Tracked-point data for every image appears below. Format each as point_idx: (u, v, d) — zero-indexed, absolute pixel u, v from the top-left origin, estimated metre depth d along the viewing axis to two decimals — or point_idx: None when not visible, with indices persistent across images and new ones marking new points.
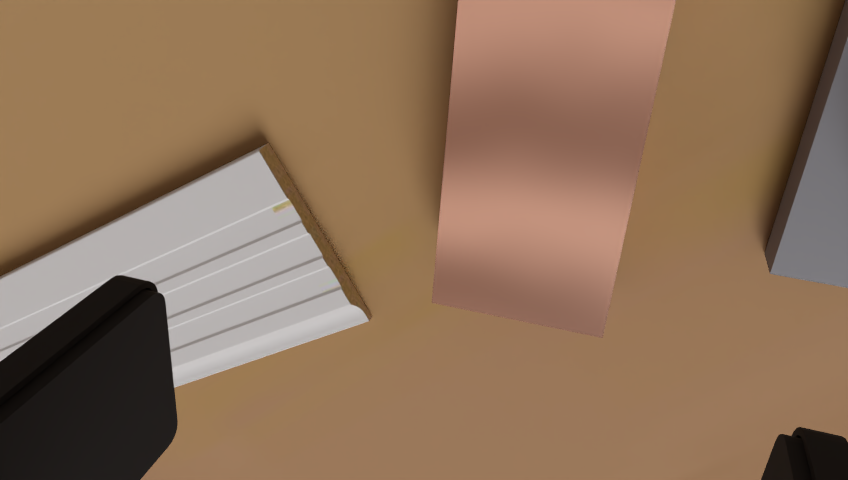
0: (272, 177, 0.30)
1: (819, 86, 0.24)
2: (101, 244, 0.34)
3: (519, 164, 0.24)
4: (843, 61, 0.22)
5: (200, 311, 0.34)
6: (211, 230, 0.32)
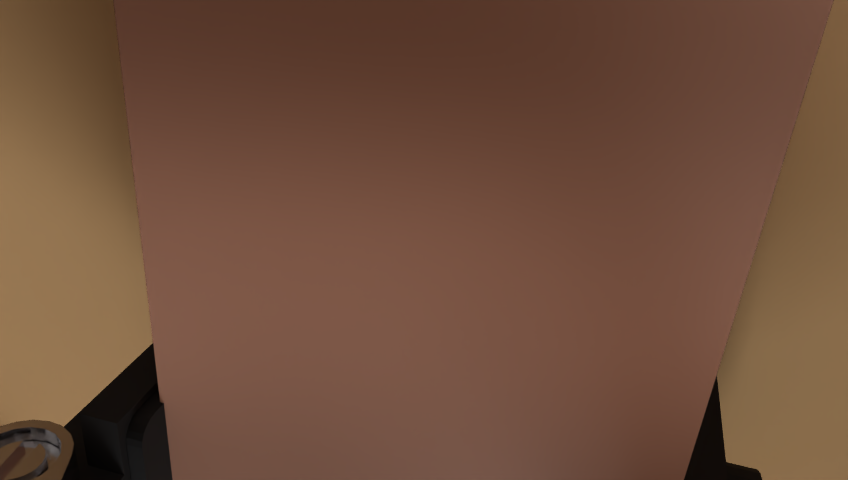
0: None
1: None
2: None
3: None
4: None
5: None
6: None
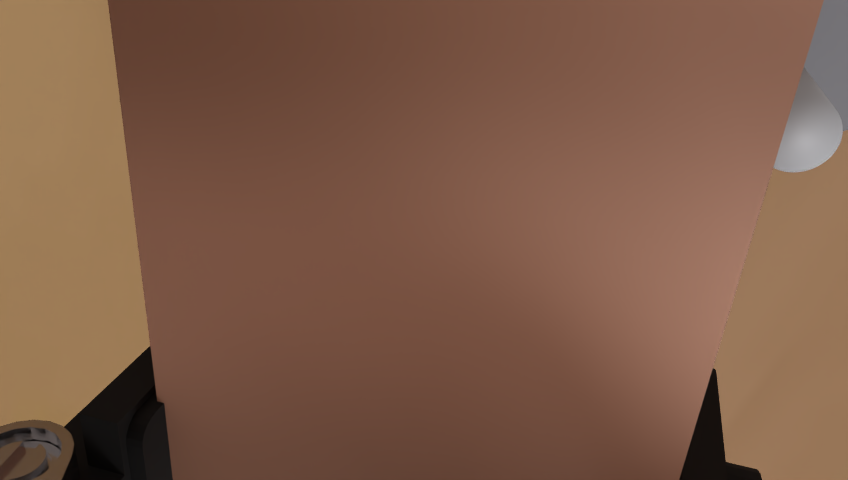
0: None
1: None
2: None
3: None
4: None
5: None
6: None
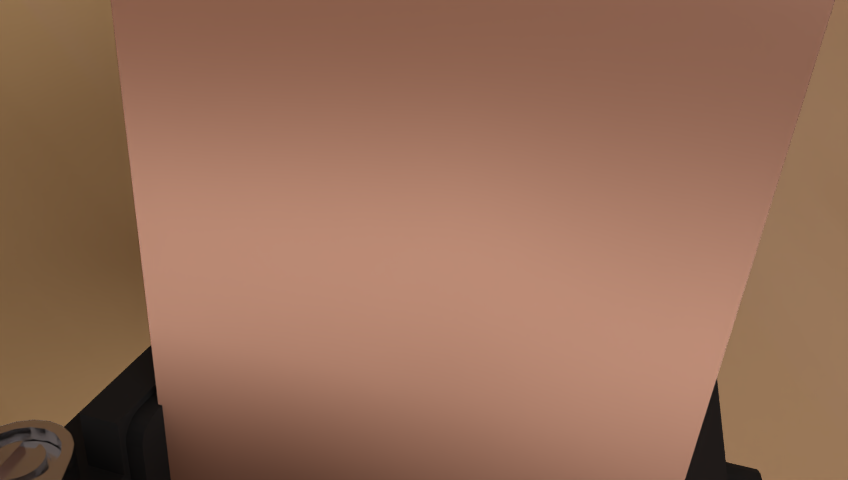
0: None
1: None
2: None
3: None
4: None
5: None
6: None
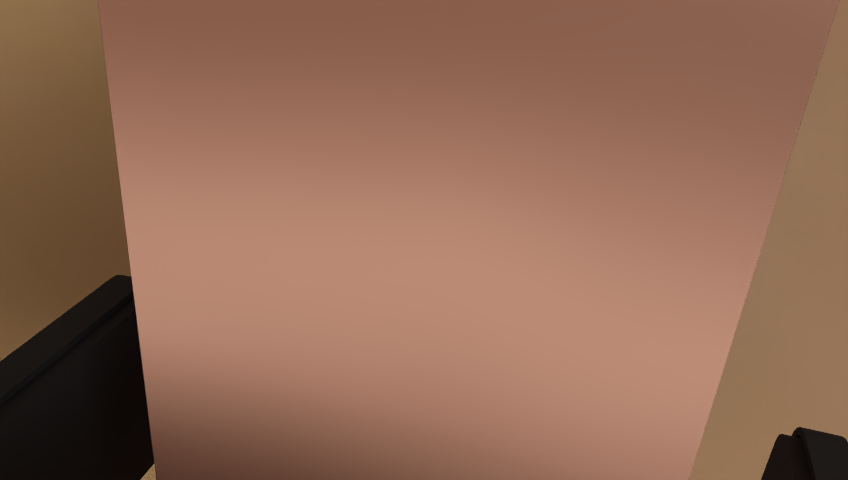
0: None
1: None
2: None
3: None
4: None
5: None
6: None
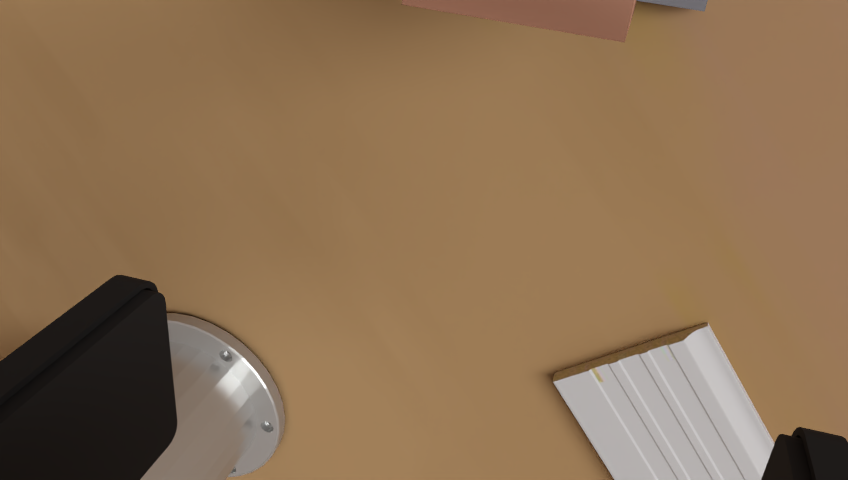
0: (572, 377, 0.40)
1: None
2: None
3: None
4: None
5: (705, 458, 0.40)
6: (624, 430, 0.40)
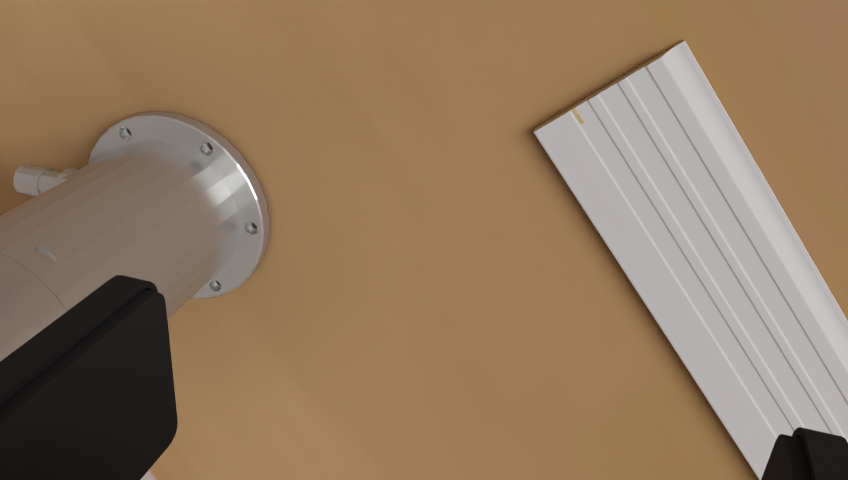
0: (553, 122, 0.39)
1: None
2: (637, 272, 0.41)
3: None
4: None
5: (692, 196, 0.39)
6: (609, 177, 0.40)
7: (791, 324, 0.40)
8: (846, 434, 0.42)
